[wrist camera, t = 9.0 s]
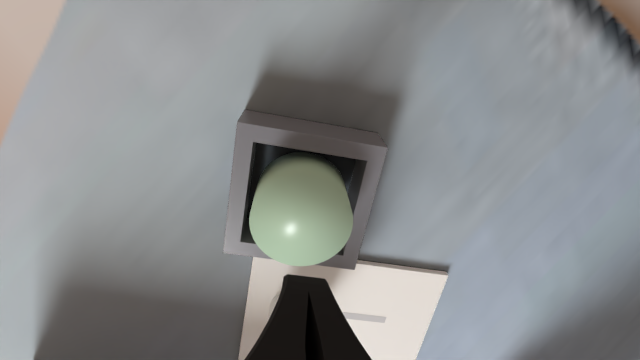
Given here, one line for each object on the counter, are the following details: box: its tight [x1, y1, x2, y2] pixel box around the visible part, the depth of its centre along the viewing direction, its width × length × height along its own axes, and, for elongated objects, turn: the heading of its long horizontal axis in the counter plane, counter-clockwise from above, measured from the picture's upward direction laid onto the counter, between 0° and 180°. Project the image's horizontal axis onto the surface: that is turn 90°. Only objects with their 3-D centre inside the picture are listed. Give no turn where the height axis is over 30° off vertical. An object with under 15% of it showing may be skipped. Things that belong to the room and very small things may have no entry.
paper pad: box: [238, 257, 448, 360], centre depth 25 cm, size 12×9×1 cm
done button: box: [249, 152, 353, 266], centre depth 18 cm, size 5×5×3 cm
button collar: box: [223, 110, 388, 270], centre depth 20 cm, size 7×7×2 cm
